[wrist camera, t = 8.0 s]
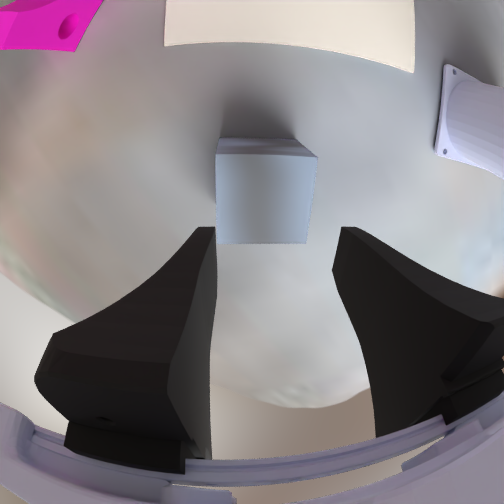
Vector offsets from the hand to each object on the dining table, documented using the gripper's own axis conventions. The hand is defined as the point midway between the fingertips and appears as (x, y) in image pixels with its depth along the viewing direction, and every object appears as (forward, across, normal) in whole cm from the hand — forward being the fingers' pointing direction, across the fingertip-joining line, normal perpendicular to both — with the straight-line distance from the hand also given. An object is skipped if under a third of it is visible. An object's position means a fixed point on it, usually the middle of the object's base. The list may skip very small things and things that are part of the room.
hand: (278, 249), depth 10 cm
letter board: (+9, -2, -17) cm, 20 cm away
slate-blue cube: (+10, 0, 0) cm, 10 cm away
